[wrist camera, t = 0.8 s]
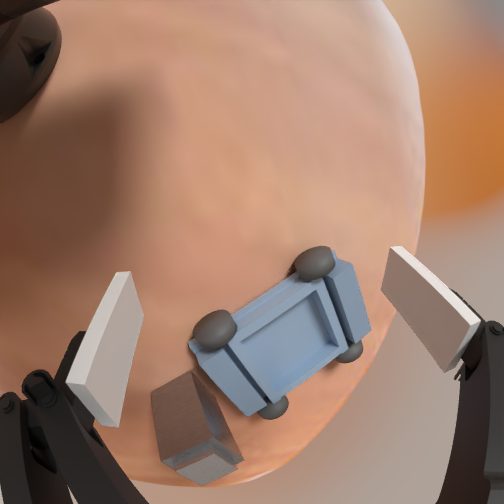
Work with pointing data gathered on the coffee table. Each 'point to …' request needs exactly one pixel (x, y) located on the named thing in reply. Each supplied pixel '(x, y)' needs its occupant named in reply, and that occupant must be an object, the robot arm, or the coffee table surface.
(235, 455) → the block
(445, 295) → the robot arm
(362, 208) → the coffee table surface
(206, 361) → the chassis
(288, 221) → the coffee table surface
